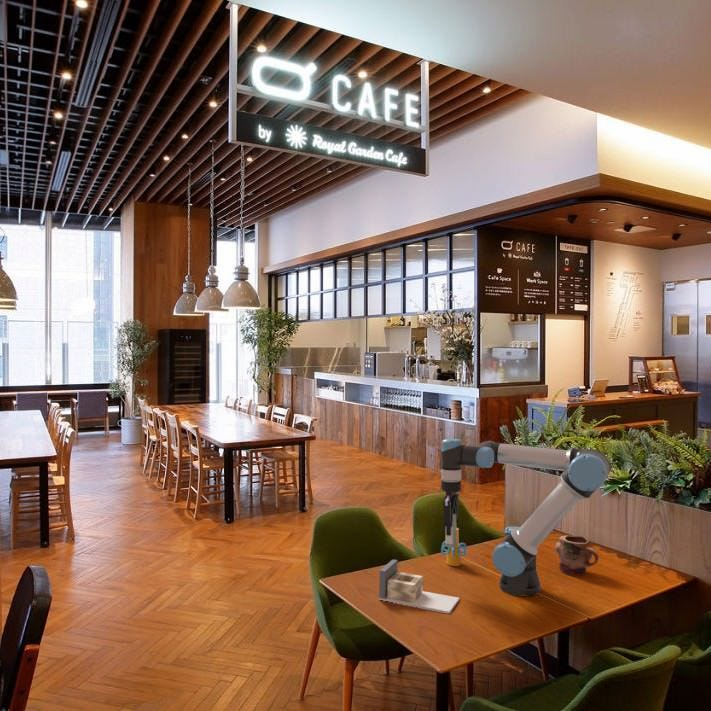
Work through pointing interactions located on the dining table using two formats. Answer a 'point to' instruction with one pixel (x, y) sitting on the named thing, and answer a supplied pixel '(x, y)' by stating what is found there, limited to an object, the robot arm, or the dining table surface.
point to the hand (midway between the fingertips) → (450, 541)
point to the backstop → (423, 601)
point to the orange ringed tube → (454, 552)
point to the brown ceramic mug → (575, 554)
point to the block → (405, 586)
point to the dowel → (453, 533)
